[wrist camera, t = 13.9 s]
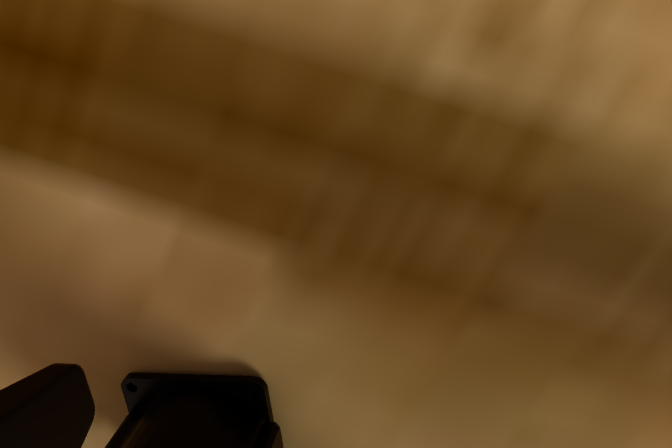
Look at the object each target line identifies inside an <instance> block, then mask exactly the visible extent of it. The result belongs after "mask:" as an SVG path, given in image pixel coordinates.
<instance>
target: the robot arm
mask: <svg viewBox="0 0 672 448" xmlns="http://www.w3.org/2000/svg"><path fill="white" fill-rule="evenodd" d="M132 383H133V384H135V385H136V386H134V385H133V384H132ZM251 387H253V388H256V389H257V390H258V391H255V390H253V389H252V388H251ZM121 388H122V391H123V394H124V398H125V401H126V404H127V408H128V411H129V414H128V415H127V417H126V418H125V419H124V421H123V422H122V424H121V425H120V427H119V428H118V429H117V431H116V432H115V434H114V435H113V437H112V438H111V439H110V441H109V442H108V444H107V445H106V446H105V448H283V442H282V436H281V431H280V427H279V426H278V424H277V423H276V422H274V420H273V414H272V409H271V403H270V398H269V392H268V387H267V384H266V382H265V381H264V380H263V379H261V378H259V377H255V376H229V375H197V374H166V373H129V374H128V375H127V376H126V377H125V378H124V380H123V381H122V383H121ZM94 415H95V405H94V401H93V398H92V395H91V392H90V389H89V385H88V382H87V379H86V376H85V373H84V371H83V369H82V368H81V367H80V366H79V365H77V364H64V363H56V364H52V365H50V366H48V367H46V368H44V369H42V370H40V371H38V372H36V373H34V374H32V375H30V376H28V377H26V378H24V379H22V380H20V381H18V382H16V383H14V384H12V385H10V386H8V387H6V388H4V389H2V390H0V448H81V447H82V445H83V442H84V440H85V438H86V436H87V433H88V431H89V429H90V427H91V424H92V422H93V419H94Z"/></svg>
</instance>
